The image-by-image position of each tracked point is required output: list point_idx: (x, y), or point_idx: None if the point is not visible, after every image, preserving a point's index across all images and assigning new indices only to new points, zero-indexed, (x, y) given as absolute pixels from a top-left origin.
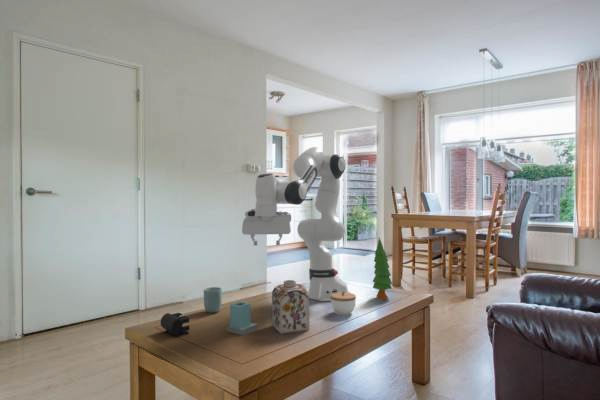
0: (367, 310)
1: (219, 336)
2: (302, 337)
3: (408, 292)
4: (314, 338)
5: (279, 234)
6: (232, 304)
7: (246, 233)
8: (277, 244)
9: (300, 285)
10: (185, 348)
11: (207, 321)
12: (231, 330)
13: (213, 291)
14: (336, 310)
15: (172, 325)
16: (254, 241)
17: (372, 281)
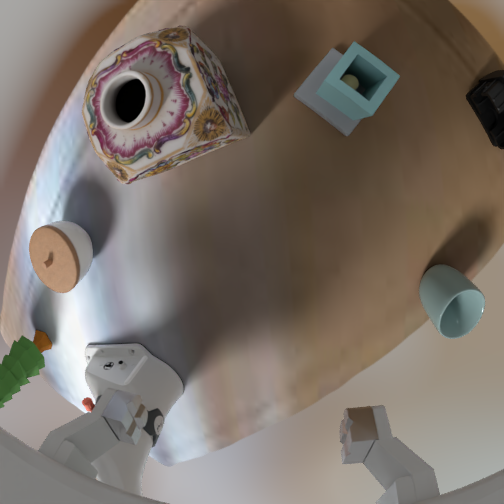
0: None
1: (390, 56)
2: None
3: None
4: None
5: (59, 460)
6: (392, 77)
7: (498, 482)
8: (124, 392)
9: (94, 121)
10: (437, 5)
11: (444, 190)
12: None
13: (463, 289)
14: (81, 228)
15: (502, 70)
16: (380, 437)
17: (37, 365)
